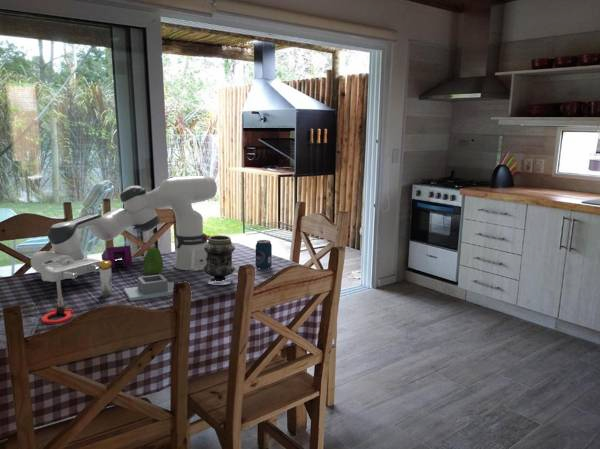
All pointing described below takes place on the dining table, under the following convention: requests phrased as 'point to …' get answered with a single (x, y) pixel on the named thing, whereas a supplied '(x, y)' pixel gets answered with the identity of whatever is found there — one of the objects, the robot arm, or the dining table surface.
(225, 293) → the dining table surface
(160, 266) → the avocado
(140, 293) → the grey box on plate
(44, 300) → the dining table surface
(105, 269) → the white gold-topped cylinder
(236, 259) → the dining table surface
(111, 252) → the mounting bracket
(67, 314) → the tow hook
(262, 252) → the soda can
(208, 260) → the ornate stone vase
